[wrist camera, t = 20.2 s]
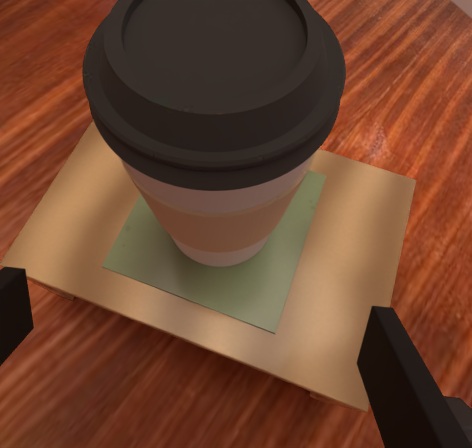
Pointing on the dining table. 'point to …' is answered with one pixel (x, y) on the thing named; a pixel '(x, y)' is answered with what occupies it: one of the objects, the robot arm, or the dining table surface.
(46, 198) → the shelf
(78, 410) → the dining table surface
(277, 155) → the coffee cup
